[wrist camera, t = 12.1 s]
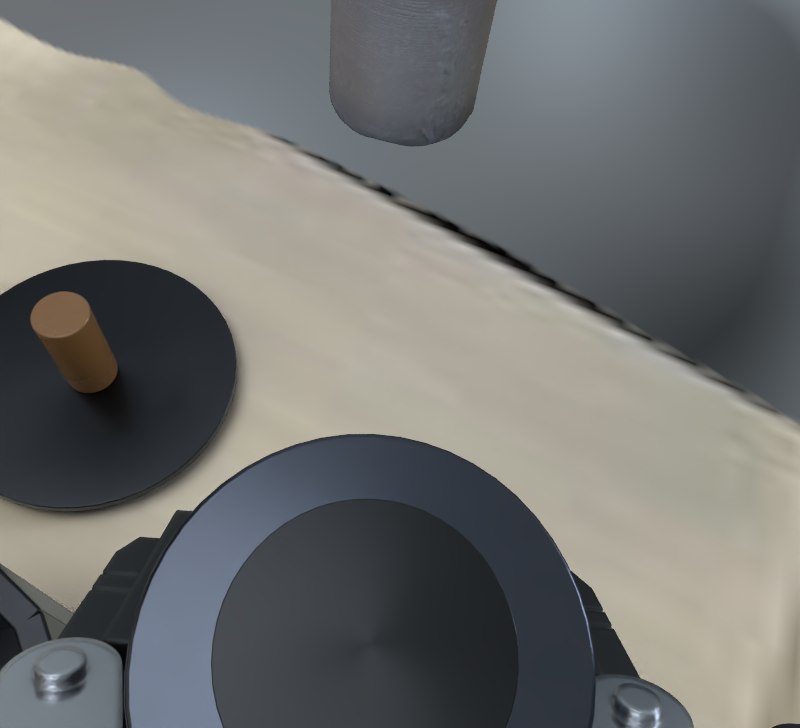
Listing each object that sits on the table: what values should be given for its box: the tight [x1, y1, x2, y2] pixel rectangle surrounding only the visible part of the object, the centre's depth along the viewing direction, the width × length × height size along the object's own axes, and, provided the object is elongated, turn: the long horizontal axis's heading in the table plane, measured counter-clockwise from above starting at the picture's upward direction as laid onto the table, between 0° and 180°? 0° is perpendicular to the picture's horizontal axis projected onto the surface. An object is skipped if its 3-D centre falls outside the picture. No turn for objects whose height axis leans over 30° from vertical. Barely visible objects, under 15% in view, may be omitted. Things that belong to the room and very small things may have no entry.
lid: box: [0, 260, 237, 511], centre depth 33 cm, size 14×14×6 cm
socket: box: [124, 434, 596, 728], centre depth 11 cm, size 5×5×9 cm
